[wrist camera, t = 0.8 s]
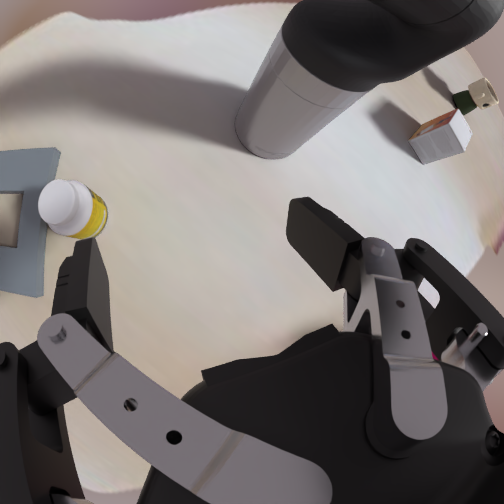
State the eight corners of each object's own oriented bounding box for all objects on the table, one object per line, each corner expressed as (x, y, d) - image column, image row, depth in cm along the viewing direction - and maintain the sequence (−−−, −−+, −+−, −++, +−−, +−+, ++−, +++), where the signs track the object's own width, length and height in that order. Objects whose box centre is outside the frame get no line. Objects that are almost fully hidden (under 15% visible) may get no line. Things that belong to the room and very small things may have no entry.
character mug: (458, 120, 47) (495, 106, 34) (444, 96, 46) (480, 78, 33) (469, 113, 49) (501, 100, 37) (456, 91, 48) (488, 76, 36)
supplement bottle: (116, 203, 29) (91, 182, 19) (99, 246, 28) (67, 243, 19) (80, 188, 27) (46, 164, 18) (63, 230, 27) (23, 221, 17)
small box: (421, 124, 42) (458, 107, 32) (435, 147, 43) (473, 133, 33) (406, 140, 40) (448, 122, 30) (422, 165, 41) (465, 152, 31)
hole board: (-9, 157, 23) (-15, 153, 21) (60, 152, 26) (55, 147, 24) (-25, 281, 22) (-32, 282, 20) (43, 295, 26) (36, 297, 24)
